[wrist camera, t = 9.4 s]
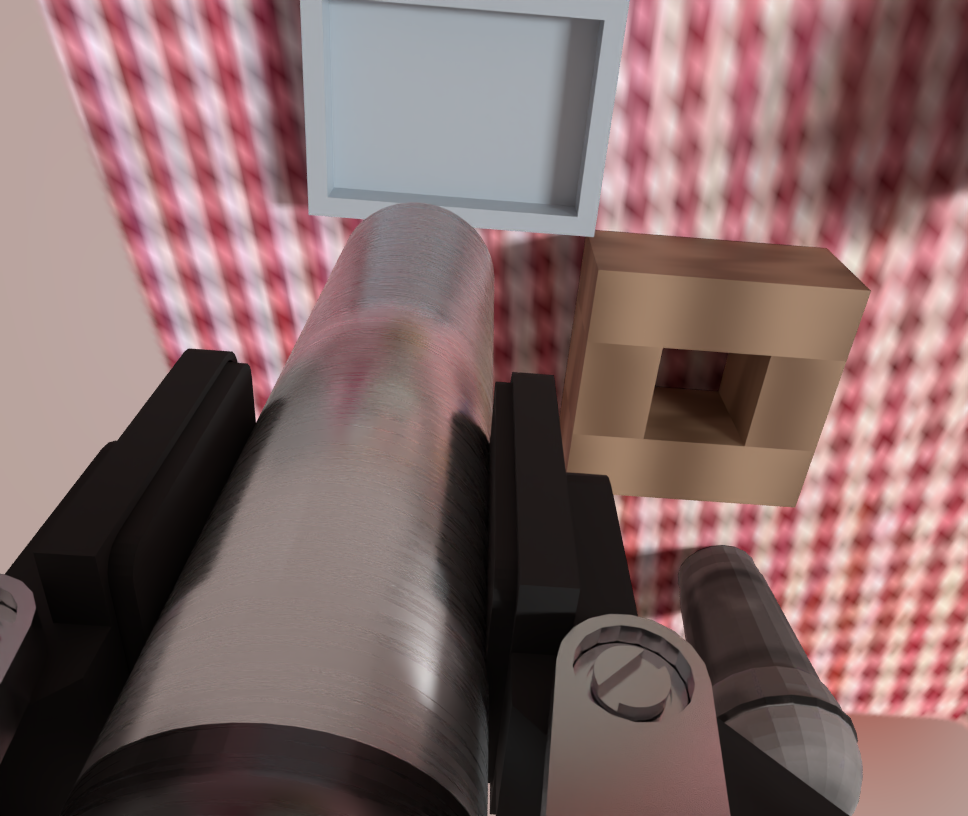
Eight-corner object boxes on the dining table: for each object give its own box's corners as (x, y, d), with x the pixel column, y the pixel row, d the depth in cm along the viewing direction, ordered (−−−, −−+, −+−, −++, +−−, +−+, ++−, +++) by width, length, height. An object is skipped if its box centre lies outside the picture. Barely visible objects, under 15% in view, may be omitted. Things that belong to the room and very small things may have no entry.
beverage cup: (716, 505, 44) (856, 875, 26) (806, 565, 46) (990, 944, 29) (628, 583, 47) (702, 960, 30) (716, 636, 49) (833, 1016, 32)
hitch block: (826, 248, 36) (870, 290, 32) (764, 448, 42) (795, 507, 37) (586, 229, 36) (598, 270, 31) (557, 433, 41) (563, 491, 37)
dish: (621, -7, 31) (629, -3, 29) (588, 218, 35) (593, 236, 33) (312, -34, 31) (298, -31, 28) (320, 197, 35) (308, 214, 33)
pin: (500, 208, 16) (507, 996, 4) (488, 353, 17) (467, 1210, 6) (338, 196, 16) (-141, 963, 4) (341, 342, 17) (10, 1191, 6)
